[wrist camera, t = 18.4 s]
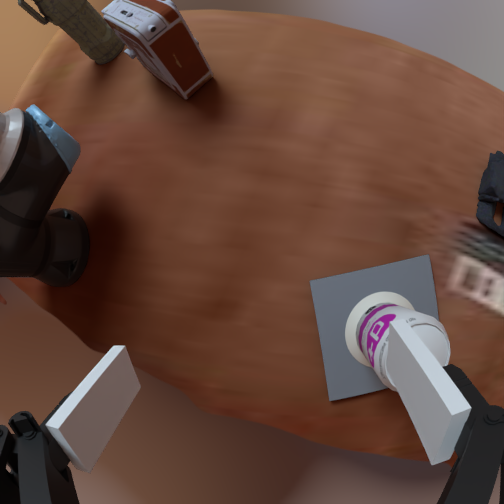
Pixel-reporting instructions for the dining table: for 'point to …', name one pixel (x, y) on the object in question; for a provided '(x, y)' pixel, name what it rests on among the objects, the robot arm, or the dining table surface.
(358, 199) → the dining table surface
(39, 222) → the robot arm
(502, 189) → the crumpled black cloth
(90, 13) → the thermos
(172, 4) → the cine camera
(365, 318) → the supplement can
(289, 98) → the dining table surface
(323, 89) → the dining table surface
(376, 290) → the board
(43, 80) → the dining table surface
